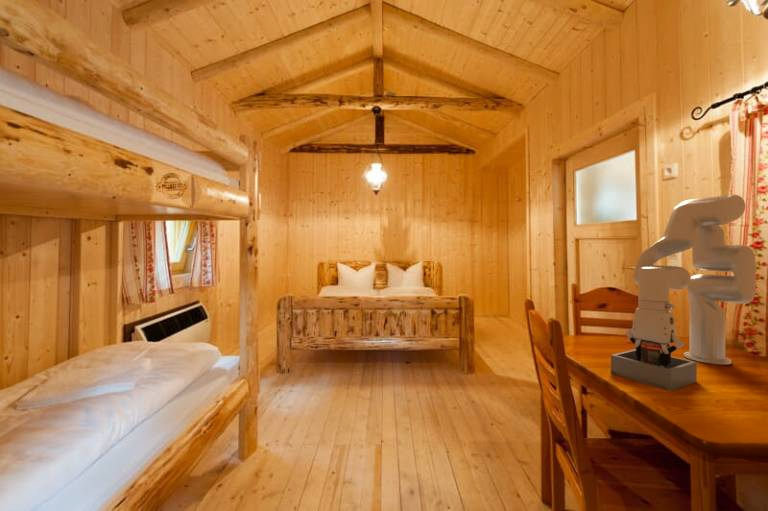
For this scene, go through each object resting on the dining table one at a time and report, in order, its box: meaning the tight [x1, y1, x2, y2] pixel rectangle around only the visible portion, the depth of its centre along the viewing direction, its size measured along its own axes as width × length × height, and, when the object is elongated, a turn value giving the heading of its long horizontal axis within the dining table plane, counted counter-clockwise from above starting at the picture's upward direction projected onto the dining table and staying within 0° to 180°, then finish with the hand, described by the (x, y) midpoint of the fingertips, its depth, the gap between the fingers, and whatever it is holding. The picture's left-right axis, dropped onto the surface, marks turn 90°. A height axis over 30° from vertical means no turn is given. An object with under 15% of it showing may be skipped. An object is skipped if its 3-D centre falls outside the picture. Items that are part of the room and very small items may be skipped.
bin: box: [610, 348, 698, 392], centre depth 105 cm, size 16×16×6 cm
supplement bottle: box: [641, 340, 665, 368], centre depth 105 cm, size 6×6×11 cm
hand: (652, 361), depth 105 cm, fingers closed on supplement bottle, 6 cm apart
